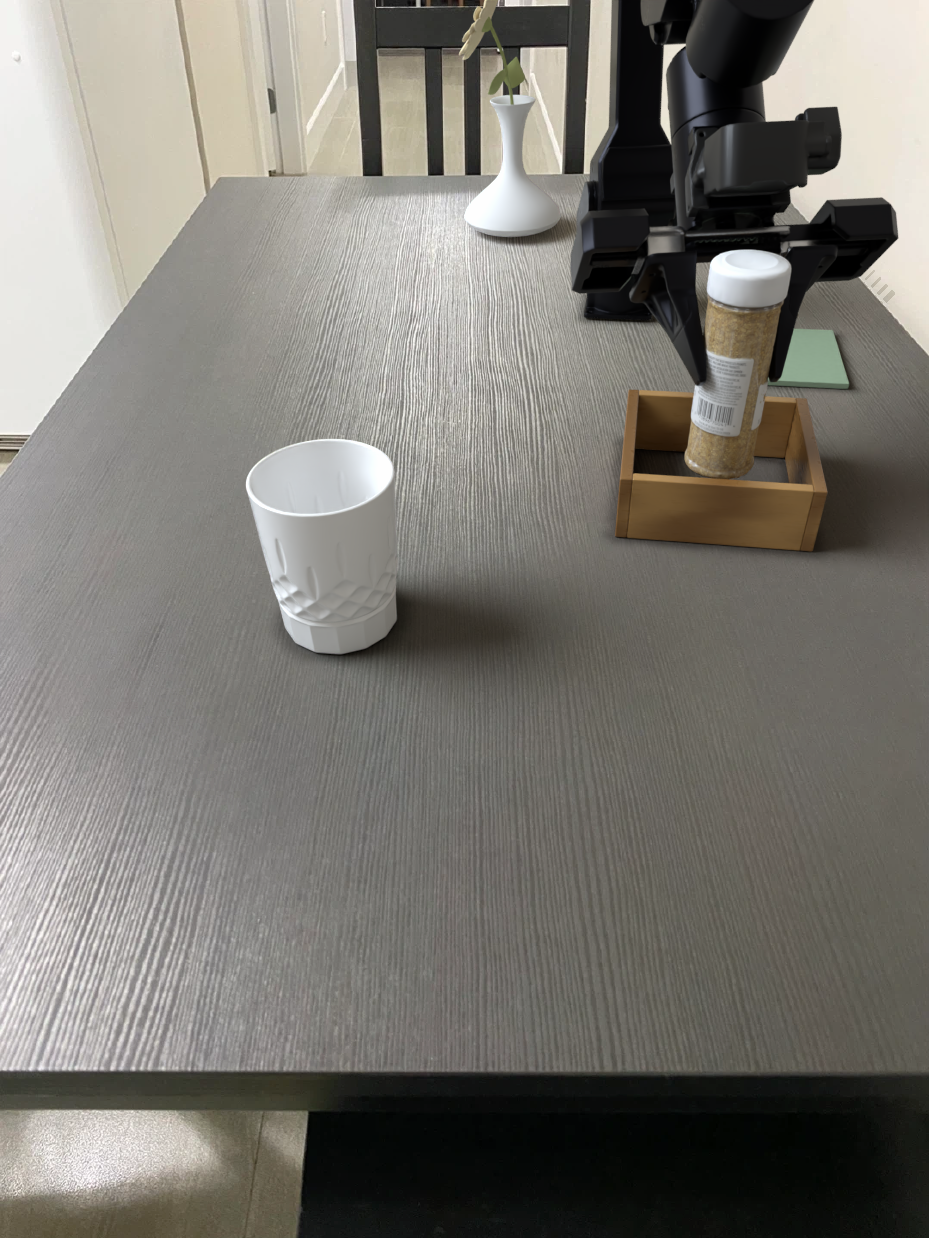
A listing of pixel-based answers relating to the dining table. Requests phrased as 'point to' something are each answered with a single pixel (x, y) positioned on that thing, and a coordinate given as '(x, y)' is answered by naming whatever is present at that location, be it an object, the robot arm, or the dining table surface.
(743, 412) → the sprinkles bottle
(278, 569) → the white cup
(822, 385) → the mat
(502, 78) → the flower in vase
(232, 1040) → the dining table surface
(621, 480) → the wooden box
